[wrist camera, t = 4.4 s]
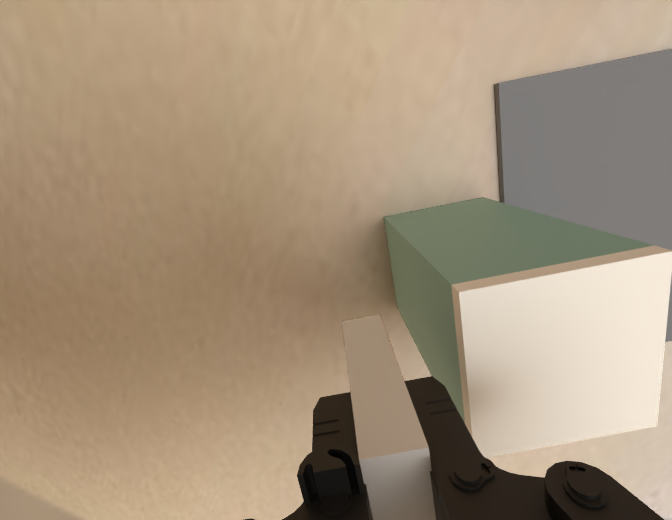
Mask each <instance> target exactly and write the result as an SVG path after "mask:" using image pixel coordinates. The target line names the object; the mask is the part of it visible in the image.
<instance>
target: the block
mask: <svg viewBox="0 0 672 520" xmlns="http://www.w3.org/2000/svg"><path fill="white" fill-rule="evenodd" d="M384 222H385V229H386V235H387V242H388V249H389V256H390V262H391V269H392V276H393V282H394V289H395V296H396V302H397V308H398V310H399V312H400V314H401V316H402V318H403V320H404V322H405V324H406V326H407V328H408V330H409V332H410V334H411V336H412V338H413V340H414V342H415V343H416V345H417V347H418V349H419V351H420V353H421V355H422V357H423V359H424V361H425V363H426V365H427V367H428V369H429V371H430V373H431V375H432V376H433V377H434V378H435V379H437V380H438V381H439V382H441V383H442V384H443V385H445V387H446V389H447V391H448V393H449V395H450V397H451V400H453V402H454V404H455V406H456V408H457V411H458V412H459V414H460V415H461V417H462V419H463V421H464V423H465V425H466V427H467V429H468V430H469V432H470V434H471V436H472V438H473V440H474V442H475V443H476V445H477V447H478V449H479V451H480V452H481V454H482V455H483V456H484V457H485V458H490V457H496V456H501V455H506V454H512V453H517V452H522V451H528V450H533V449H538V448H544V447H549V446H554V445H560V444H565V443H570V442H576V441H581V440H586V439H592V438H597V437H602V436H608V435H613V434H618V433H623V432H629V431H634V430H639V429H645V428H650V427H655V426H657V423H658V412H659V402H660V391H661V380H662V370H663V359H664V349H665V338H666V328H667V317H668V307H669V296H670V286H671V275H672V250H669V249H665V248H661V247H658V246H654V245H651V244H647V243H644V242H640V241H637V240H633V239H629V238H626V237H622V236H619V235H615V234H612V233H608V232H605V231H601V230H597V229H594V228H590V227H587V226H583V225H580V224H576V223H572V222H569V221H565V220H562V219H558V218H555V217H551V216H548V215H544V214H540V213H537V212H533V211H530V210H526V209H523V208H519V207H516V206H512V205H508V204H505V203H501V202H498V201H494V200H491V199H487V198H483V197H482V198H477V199H472V200H467V201H462V202H457V203H452V204H446V205H441V206H436V207H431V208H426V209H421V210H416V211H410V212H405V213H400V214H395V215H390V216H385V217H384Z"/></svg>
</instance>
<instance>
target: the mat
mask: <svg viewBox="0 0 672 520" xmlns="http://www.w3.org/2000/svg"><path fill="white" fill-rule="evenodd" d="M494 87H495V107H496V126H497V145H498V165H499V184H500V202H501V203H505V204H508V205H512V206H516V207H519V208H523V209H526V210H530V211H533V212H537V213H540V214H544V215H548V216H551V217H555V218H558V219H562V220H565V221H569V222H572V223H576V224H580V225H583V226H587V227H590V228H594V229H597V230H601V231H605V232H608V233H612V234H615V235H619V236H622V237H626V238H629V239H633V240H637V241H640V242H644V243H647V244H651V245H654V246H658V247H661V248H665V249H669V250H672V49H669V50H663V51H658V52H653V53H648V54H643V55H638V56H633V57H628V58H623V59H618V60H613V61H608V62H603V63H598V64H593V65H588V66H583V67H577V68H572V69H567V70H562V71H557V72H552V73H547V74H542V75H537V76H532V77H527V78H522V79H517V80H512V81H507V82H502V83H498V84H495V85H494ZM667 341H672V275H671V286H670V296H669V307H668V317H667V328H666V338H665V342H667Z"/></svg>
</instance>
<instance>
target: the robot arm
mask: <svg viewBox="0 0 672 520" xmlns="http://www.w3.org/2000/svg"><path fill="white" fill-rule="evenodd" d="M342 329H343V337H344V345H345V353H346V360H347V368H348V376H349V384H350V392H349V393H343V394H337V395H332V396H326V397H321V398H320V399H319V401H318V403H317V404H316V406H315V408H314V410H313V442H312V452H311V453H310V454H308V455H307V456H306V458H305V459H304V460H303V462H302V463H301V464H300V467H299V470H298V474H297V477H298V481H299V485H300V488H301V492H302V496H303V499H304V502H303V503H302V505H301V506H300V507H299V508H298V509H297V510H296V511H295V512H294V513H292V514H291V515H289V516H288V517H286V518H284V519H282V520H664V519H663V518H661V517H660V516H659V515H658V514H656V513H655V512H654V511H653V510H652V509H650V508H649V507H648V506H647V505H645V504H644V503H643V502H642V501H640V500H639V499H638V498H637V497H635V496H634V495H633V494H632V493H631V492H629V491H628V490H627V489H626V488H624V487H623V486H622V485H621V484H619V483H618V482H617V481H616V480H614V479H613V478H612V477H611V476H609V475H607V474H606V473H604V472H603V471H601V470H600V469H598V468H596V467H593V466H590V465H588V464H585V463H582V462H574V461H564V462H559V463H555V464H554V465H553V466H551V467H550V468H549V469H548V470H547V473H546V476H545V478H542V477H533V476H524V475H518V474H513V473H509V472H506V471H504V470H501V469H499V468H498V467H496V466H495V465H494V464H493V463H492V461H490V460H489V459H487V458H485V457H484V456H483V455H482V454H481V452H480V451H479V449H478V447H477V445H476V443H475V442H474V440H473V438H472V436H471V434H470V432H469V430H468V429H467V427H466V425H465V423H464V421H463V419H462V417H461V415H460V414H459V412H458V411H457V408H456V406H455V404H454V402H453V400H451V397H450V395H449V393H448V391H447V389H446V387H445V385H443V384H442V383H441V382H439V381H438V380H437V379H435V378H434V377H433V376H431V377H426V378H420V379H415V380H409V381H404V379H403V376H402V373H401V371H400V368H399V365H398V363H397V360H396V357H395V354H394V352H393V349H392V346H391V344H390V341H389V338H388V335H387V333H386V330H385V327H384V325H383V322H382V319H381V316H380V314H378V315H373V316H367V317H362V318H356V319H351V320H345V321H342ZM245 520H254V519H245Z"/></svg>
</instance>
